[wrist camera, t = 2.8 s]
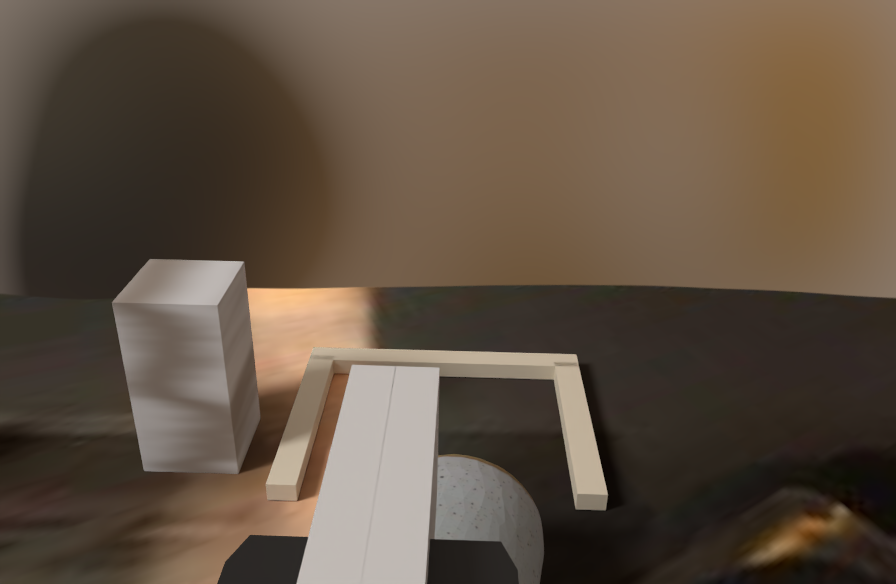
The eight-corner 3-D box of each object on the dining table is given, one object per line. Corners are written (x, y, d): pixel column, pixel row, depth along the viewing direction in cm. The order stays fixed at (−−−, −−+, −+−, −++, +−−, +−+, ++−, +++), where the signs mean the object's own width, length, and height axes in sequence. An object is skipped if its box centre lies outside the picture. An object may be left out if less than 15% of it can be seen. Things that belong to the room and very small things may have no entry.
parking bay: (574, 367, 52) (576, 354, 52) (605, 510, 40) (608, 494, 40) (314, 360, 53) (313, 347, 52) (267, 500, 41) (265, 484, 40)
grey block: (260, 418, 47) (244, 261, 42) (238, 473, 42) (217, 305, 38) (175, 415, 47) (149, 259, 43) (144, 470, 43) (111, 302, 38)
